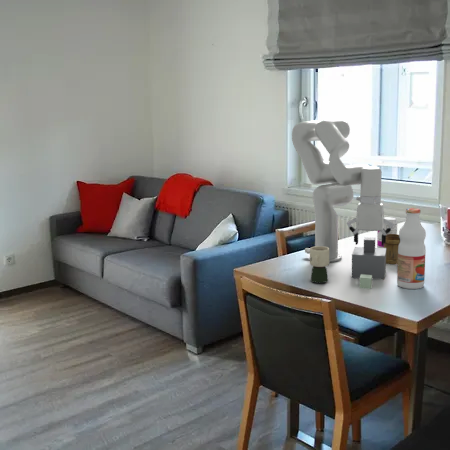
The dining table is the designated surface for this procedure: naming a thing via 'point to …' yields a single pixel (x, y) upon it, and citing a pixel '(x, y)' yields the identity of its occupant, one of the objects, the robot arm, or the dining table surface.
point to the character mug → (319, 263)
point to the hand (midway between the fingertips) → (369, 244)
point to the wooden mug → (392, 248)
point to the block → (366, 281)
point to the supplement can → (379, 234)
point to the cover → (369, 260)
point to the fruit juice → (411, 252)
